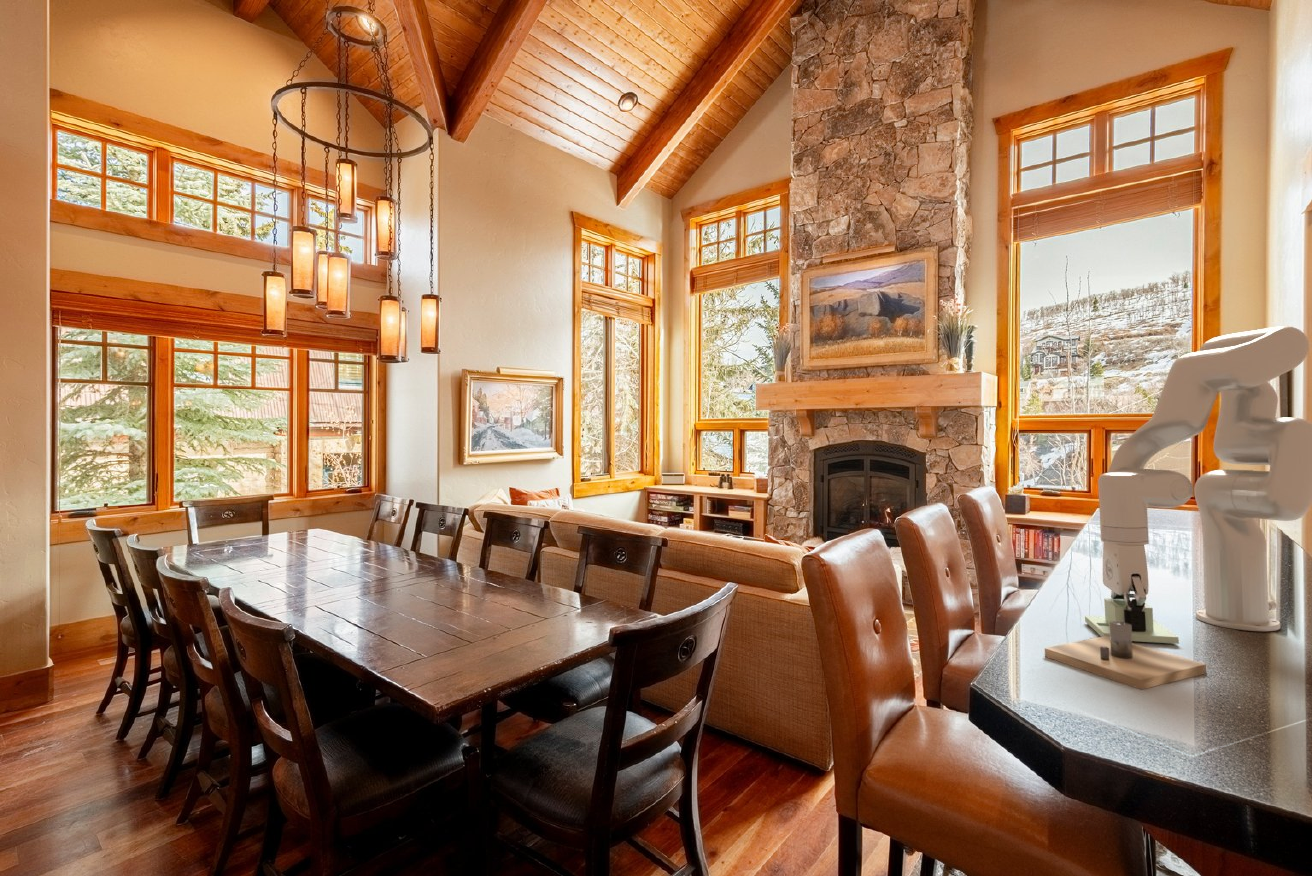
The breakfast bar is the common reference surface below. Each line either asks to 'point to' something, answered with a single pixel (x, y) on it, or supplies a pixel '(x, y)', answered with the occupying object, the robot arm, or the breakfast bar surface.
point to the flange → (1116, 613)
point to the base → (1126, 663)
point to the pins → (1119, 641)
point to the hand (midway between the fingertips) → (1128, 624)
